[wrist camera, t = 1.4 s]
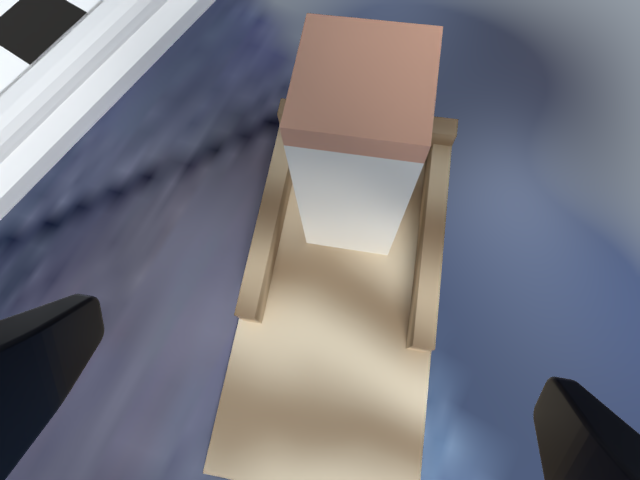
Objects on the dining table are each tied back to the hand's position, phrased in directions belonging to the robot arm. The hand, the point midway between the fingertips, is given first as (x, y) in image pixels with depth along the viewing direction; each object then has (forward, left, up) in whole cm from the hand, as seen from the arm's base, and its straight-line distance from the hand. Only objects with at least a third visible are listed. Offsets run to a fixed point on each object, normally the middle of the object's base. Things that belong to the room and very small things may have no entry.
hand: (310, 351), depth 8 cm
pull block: (+8, -2, -13) cm, 16 cm away
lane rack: (+4, -1, -14) cm, 14 cm away
